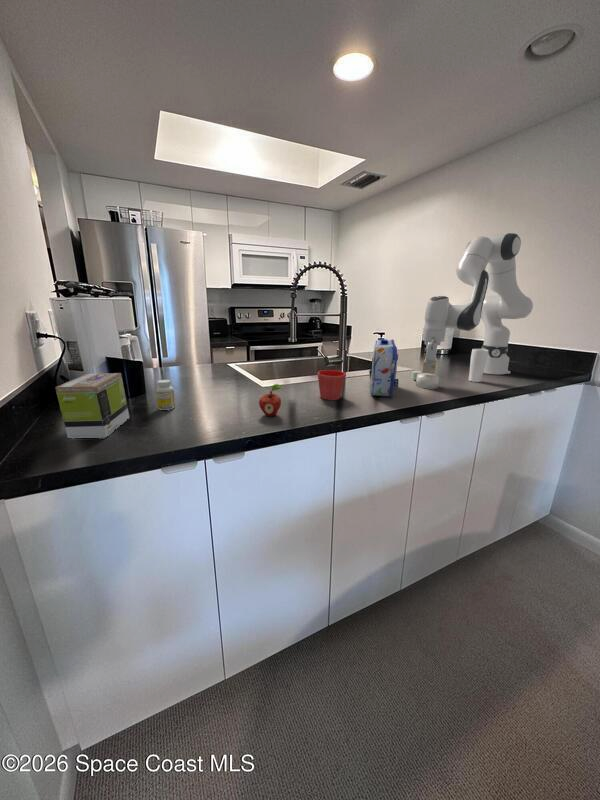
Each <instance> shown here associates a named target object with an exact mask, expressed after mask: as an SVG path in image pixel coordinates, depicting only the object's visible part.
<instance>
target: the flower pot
mask: <svg viewBox="0 0 600 800" xmlns="http://www.w3.org/2000/svg"><path fill="white" fill-rule="evenodd" d="M346 375H347V374H346V372H344V371H341V370H335V369H327V370H326V369H325V370H319V371H318V372H317V380H318V388H319V395H320V398H321V399H323V400H326V399H327V401H328V400H329V401H336V400H340V399H341V396H342V392H343V388H344V385H345V380H346Z"/></svg>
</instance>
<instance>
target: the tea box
mask: <svg viewBox="0 0 600 800" xmlns="http://www.w3.org/2000/svg"><path fill="white" fill-rule="evenodd" d="M123 381H124V380H123V376H122V373H121V372H114V373H113V372H112V373H109V372H108V373H106V372H105V373H103V372H102V373H85V374H83V375H81V376H79V377H76V378H73V379H71V380H68V381H66V382H64V383H63V384H60V385H57V386H55V387H54V388H55V393H56V396H57V401H58V404H59V405H58V406H59V409H60V413H61V415H62V420H63V424H64V428H65V432H66V436H67V439H68V438H99V439H106V438H105V437H107V436H108V437H109V436H110V435H111V434H113V432H114V430H115V429H116V430H117V429H118V428H119V427H121V426H122V425H123V424H124V423H125V422H126V421H128V420H129V419H130V412H129V409H128V402H127V396H126V393H125V387H124V382H123ZM127 419H128V420H127ZM120 425H121V426H120ZM116 430H115V431H116ZM108 437H107V438H108Z"/></svg>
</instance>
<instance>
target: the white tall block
mask: <svg viewBox="0 0 600 800" xmlns="http://www.w3.org/2000/svg"><path fill="white" fill-rule="evenodd" d="M488 351H489V350H486V349H481V348H472V350H471V355H470V362H469V363H470V364H469V372H468V373H469V374H468V381H469V382H471V381H472V382H471V383H480V382H482V380H483V379H482V378H483V376H484V375H483V374H484V373H483V372H484V368H485V365H486V361H487V358H488Z"/></svg>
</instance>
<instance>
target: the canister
mask: <svg viewBox="0 0 600 800" xmlns="http://www.w3.org/2000/svg"><path fill="white" fill-rule="evenodd" d="M439 379H440V376H439V375H438V374H429V373H420V374H417V380H416V381H415V386H416V387H417V386H418V387H417V388H420V387H421V389H424V388H426V389H425V390H436V389H438V385H439ZM435 388H436V389H435Z"/></svg>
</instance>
